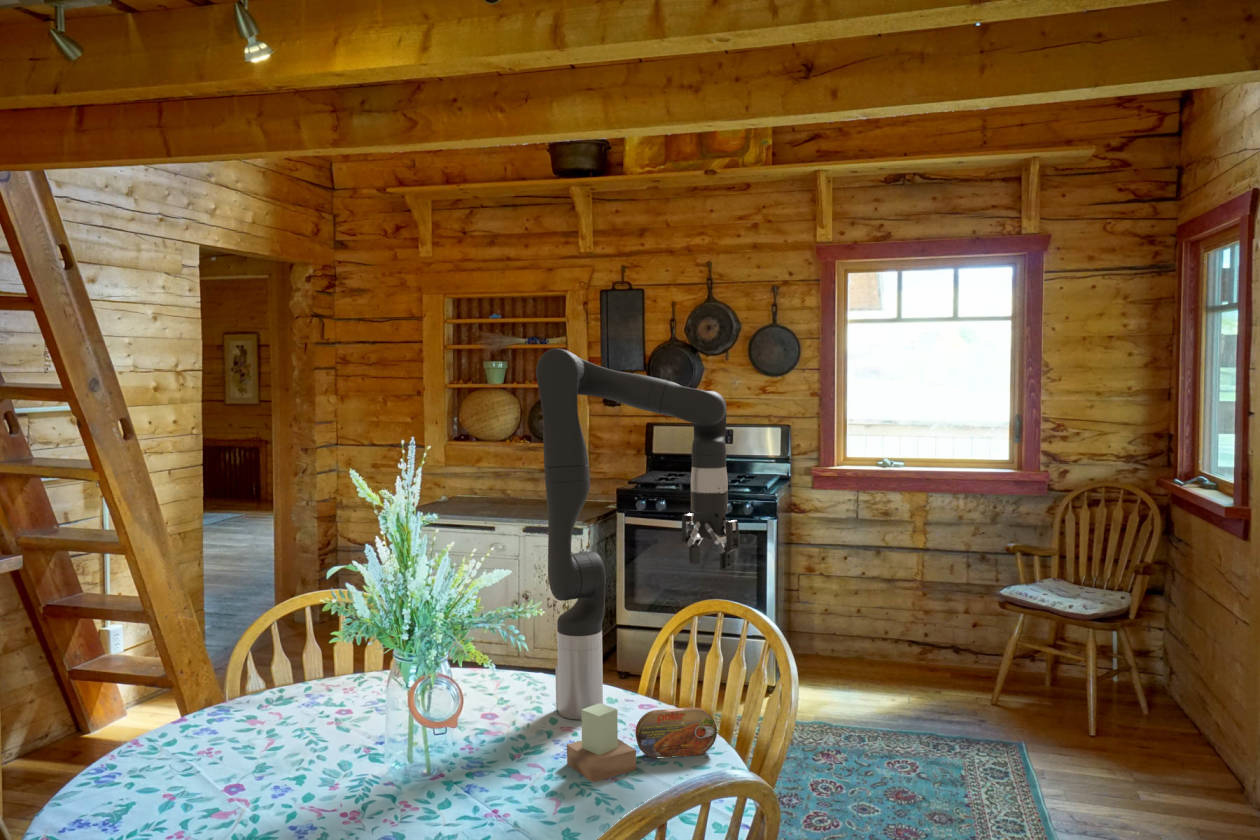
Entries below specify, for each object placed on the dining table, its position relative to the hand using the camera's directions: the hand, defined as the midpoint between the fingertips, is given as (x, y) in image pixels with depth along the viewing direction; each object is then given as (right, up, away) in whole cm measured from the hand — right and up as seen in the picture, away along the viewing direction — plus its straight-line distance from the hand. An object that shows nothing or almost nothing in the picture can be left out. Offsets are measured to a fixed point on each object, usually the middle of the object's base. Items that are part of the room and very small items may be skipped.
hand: (709, 567), depth 194 cm
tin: (-8, -32, -19) cm, 38 cm away
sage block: (-22, -28, -25) cm, 44 cm away
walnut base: (-22, -32, -25) cm, 46 cm away
